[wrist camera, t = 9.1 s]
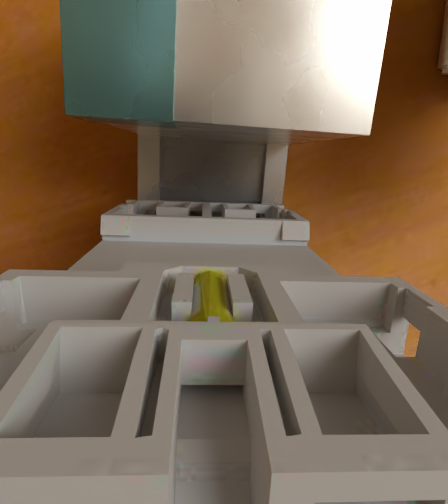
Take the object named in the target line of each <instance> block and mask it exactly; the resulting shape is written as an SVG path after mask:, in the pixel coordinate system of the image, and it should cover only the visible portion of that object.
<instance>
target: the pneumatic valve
mask: <svg viewBox="0 0 448 504" xmlns="http://www.w3.org/2000/svg"><path fill="white" fill-rule="evenodd" d="M438 68H439V69H441V70H442V75H448V0H446V6H445V14H444V22H443V30H442V38H441V45H440V53H439V61H438Z"/></svg>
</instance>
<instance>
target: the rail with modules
mask: <svg viewBox="0 0 448 504" xmlns="http://www.w3.org/2000/svg"><path fill="white" fill-rule="evenodd" d="M391 4H392V0H60V18H61V39H62V60H63V82H64V103H65V115H68V116H72V117H75V118H79V119H82V120H85V121H89V122H94V123H104V124H107V125H111V126H114V127H117V128H120V129H123V130H126V131H130V132H133V133H136V134H138V200H162V201H192V202H221V203H251V204H281V205H282V200H283V191H284V182H285V172H286V163H287V154H288V145H291V144H300V143H308V142H317V141H325V140H334V139H342V138H351V137H359V136H368V135H370V132H371V126H372V120H373V113H374V107H375V101H376V95H377V89H378V83H379V77H380V71H381V65H382V59H383V52H384V46H385V40H386V34H387V28H388V22H389V16H390V10H391ZM211 213H212V217H222V212H211ZM147 215H156V210H147ZM190 216H202V212H201V211H190ZM256 218H264V213H256Z"/></svg>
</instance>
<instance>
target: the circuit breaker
mask: <svg viewBox="0 0 448 504" xmlns="http://www.w3.org/2000/svg"><path fill="white" fill-rule="evenodd" d="M147 210H156V215H147ZM190 211H201V212H202V216H190ZM211 212H222V217H212V213H211ZM256 213H264V218H256ZM100 235H102V241H101V242H100V243H99V244H97V245H96V246H95V247H94V248H93V249H91V250H90V251H89V252H88V253H87V254H86V255H84V256H83V257H82V258H81V259H80V260H78V261H77V262H76V263H75V264H74V265H73V266H71V267H70V268H69V269H68V270H19V269H9V270H7V271H5V272H4V273H2V274H0V351H1V352H0V504H448V308H447V307H445V306H444V305H442V304H441V303H439V302H437V301H436V300H434V299H433V298H431V297H429V296H428V295H426V294H425V293H423V292H421V291H420V290H418V289H417V288H415V287H413V286H412V285H410V284H409V283H407V282H405V281H404V280H402V279H401V278H399V277H357V276H341V275H340V274H339V273H338V272H337V271H335V270H334V269H333V268H332V267H331V266H330V265H329V264H327V263H326V262H325V261H324V260H323V259H322V258H321V257H319V256H318V255H317V254H316V253H315V252H314V251H313V250H311V249H310V248H309V247H308V246H307V242H308V241H309V239H310V221H308V220H307V219H305V218H303V217H302V216H300V215H299V214H297V213H295V212H294V211H292V210H291V209H284V205H281V204H251V203H221V202H192V201H162V200H132V199H127V200H126V204H119V205H117V206H116V207H114V208H112V209H110V210H109V211H107V212H105V213H104V214H102V215H101V229H100ZM409 322H410V323H411V324H412V325H413V326H415V327H416V328H417V329H418V330H420V331H421V332H420V337H419V342H418V347H417V352H416V357H405V356H404V355H403V352H404V347H405V342H406V336H407V331H408V326H409Z"/></svg>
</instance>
